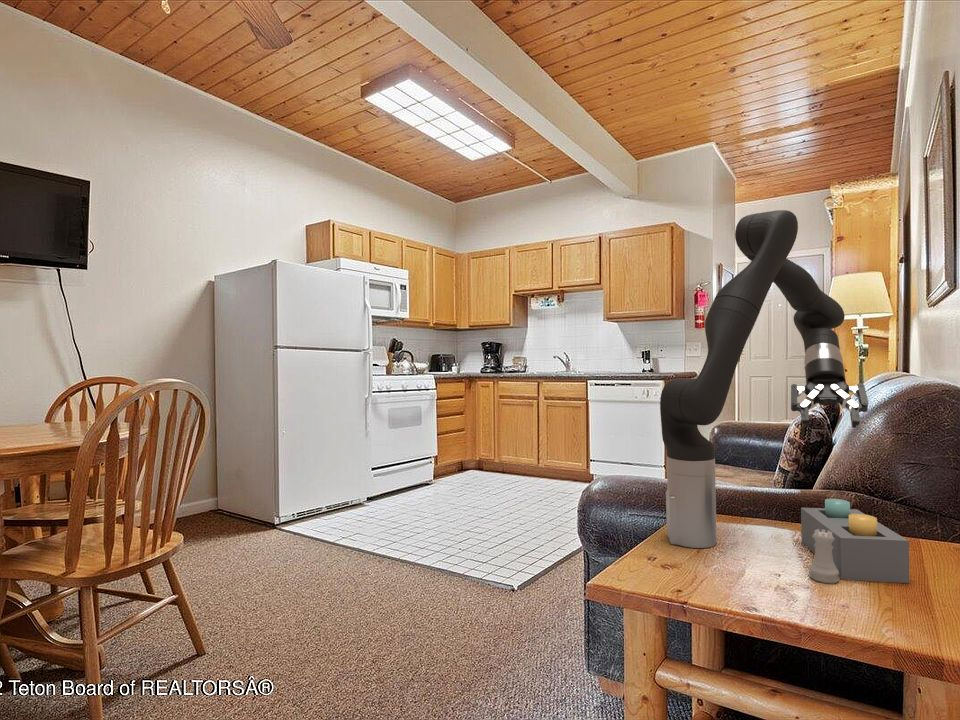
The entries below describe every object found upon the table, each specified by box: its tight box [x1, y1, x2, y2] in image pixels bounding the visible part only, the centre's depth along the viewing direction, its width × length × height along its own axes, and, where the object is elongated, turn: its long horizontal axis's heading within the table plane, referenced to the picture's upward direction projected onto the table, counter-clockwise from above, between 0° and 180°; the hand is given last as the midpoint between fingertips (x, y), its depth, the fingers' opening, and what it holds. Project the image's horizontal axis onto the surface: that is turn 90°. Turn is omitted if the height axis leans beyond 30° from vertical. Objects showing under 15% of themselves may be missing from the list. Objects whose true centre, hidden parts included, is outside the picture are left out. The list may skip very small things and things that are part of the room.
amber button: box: [849, 513, 878, 537], centre depth 94 cm, size 4×4×4 cm
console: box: [800, 507, 911, 584], centre depth 99 cm, size 10×18×7 cm, turn 168°
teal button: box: [824, 498, 851, 519], centre depth 103 cm, size 4×4×4 cm
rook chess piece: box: [808, 529, 841, 585], centre depth 91 cm, size 4×4×8 cm
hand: (830, 425), depth 115 cm, fingers open, 8 cm apart
